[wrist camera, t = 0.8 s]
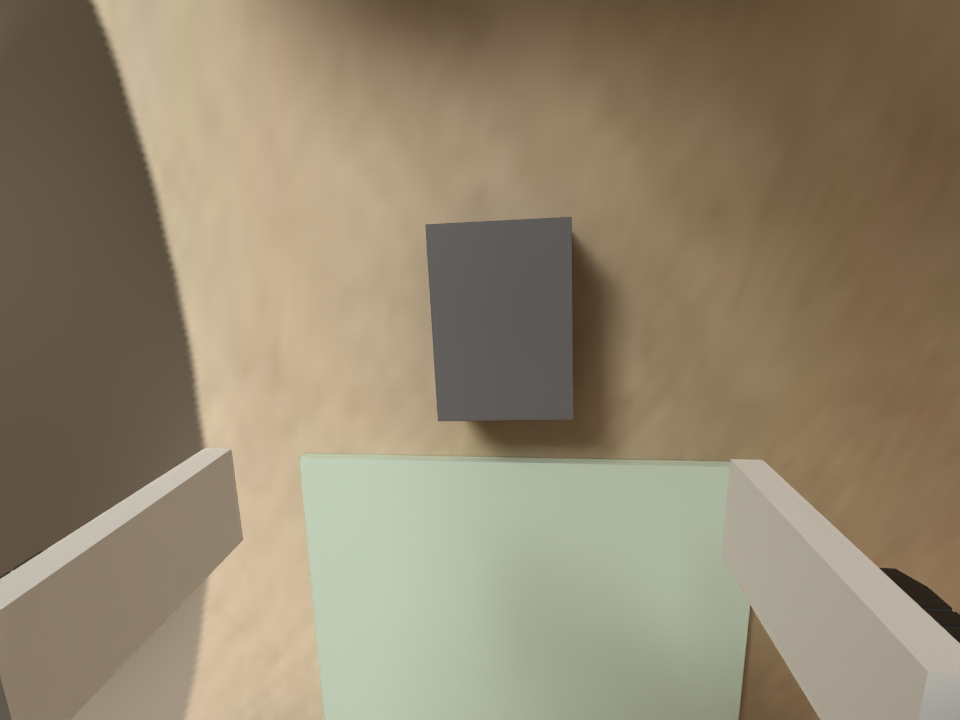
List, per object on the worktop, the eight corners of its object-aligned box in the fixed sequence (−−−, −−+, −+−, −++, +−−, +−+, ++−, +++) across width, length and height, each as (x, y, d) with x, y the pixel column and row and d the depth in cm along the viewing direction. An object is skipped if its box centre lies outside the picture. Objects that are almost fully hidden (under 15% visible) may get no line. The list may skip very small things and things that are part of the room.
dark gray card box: (442, 228, 30) (425, 224, 25) (564, 222, 29) (571, 217, 25) (451, 394, 32) (438, 421, 27) (566, 392, 32) (573, 419, 27)
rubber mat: (304, 453, 34) (299, 458, 33) (758, 462, 31) (764, 467, 30) (328, 713, 38) (324, 722, 37) (730, 739, 35) (735, 751, 34)
